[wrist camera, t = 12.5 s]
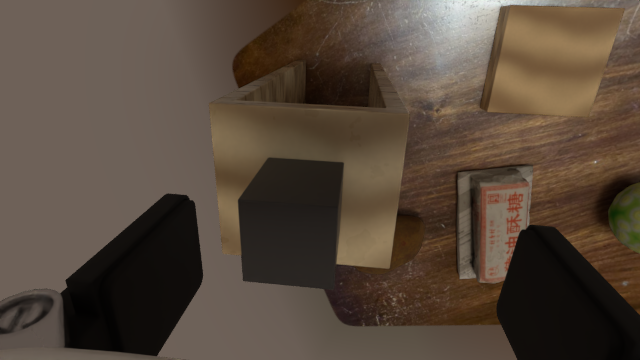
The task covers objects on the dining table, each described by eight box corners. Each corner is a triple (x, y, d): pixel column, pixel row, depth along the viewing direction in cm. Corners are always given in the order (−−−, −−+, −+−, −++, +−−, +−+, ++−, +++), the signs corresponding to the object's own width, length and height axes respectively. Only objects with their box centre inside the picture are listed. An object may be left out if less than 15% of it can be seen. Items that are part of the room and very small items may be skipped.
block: (267, 156, 20) (236, 199, 15) (344, 161, 20) (338, 207, 15) (269, 223, 22) (242, 281, 17) (339, 229, 22) (333, 290, 17)
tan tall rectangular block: (297, 59, 47) (208, 102, 20) (380, 63, 46) (410, 113, 19) (296, 133, 51) (222, 254, 24) (373, 137, 50) (389, 269, 23)
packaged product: (463, 183, 46) (546, 175, 45) (454, 170, 51) (529, 162, 49) (464, 293, 53) (536, 290, 51) (456, 273, 57) (522, 269, 56)
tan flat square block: (500, 6, 42) (510, 5, 39) (607, 9, 41) (625, 8, 38) (479, 107, 47) (487, 112, 44) (575, 112, 46) (588, 117, 43)
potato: (418, 253, 57) (428, 290, 49) (344, 253, 58) (341, 288, 50) (421, 206, 53) (431, 237, 45) (341, 207, 55) (338, 237, 47)
